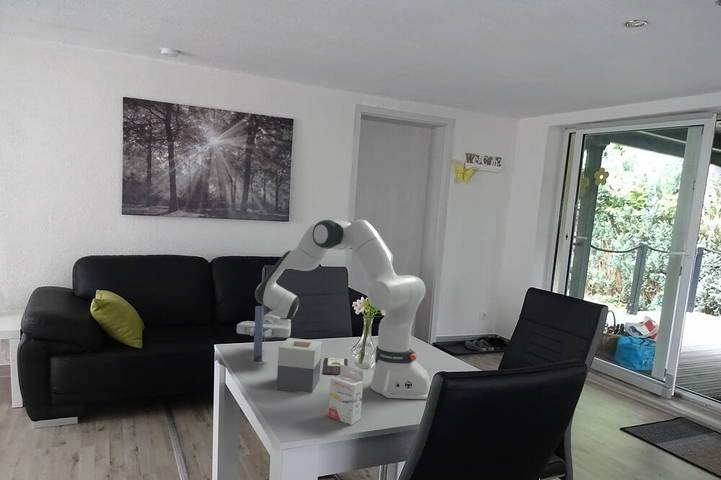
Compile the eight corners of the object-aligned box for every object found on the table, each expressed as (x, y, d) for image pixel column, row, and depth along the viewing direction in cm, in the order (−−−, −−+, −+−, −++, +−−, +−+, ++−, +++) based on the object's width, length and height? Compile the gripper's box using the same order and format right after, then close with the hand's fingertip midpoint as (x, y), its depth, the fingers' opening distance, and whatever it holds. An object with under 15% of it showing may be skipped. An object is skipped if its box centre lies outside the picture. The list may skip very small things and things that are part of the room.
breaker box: (319, 380, 171) (321, 341, 170) (312, 393, 159) (314, 351, 158) (286, 376, 172) (288, 337, 171) (276, 389, 161) (278, 347, 160)
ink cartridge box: (327, 417, 142) (330, 367, 141) (337, 411, 146) (340, 363, 145) (351, 425, 138) (355, 374, 137) (361, 419, 142) (364, 370, 141)
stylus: (263, 359, 181) (265, 306, 179) (260, 362, 178) (262, 307, 176) (254, 358, 181) (256, 305, 180) (252, 361, 178) (254, 307, 177)
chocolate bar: (323, 373, 177) (325, 357, 195) (322, 375, 177) (324, 360, 195) (347, 374, 178) (347, 359, 196) (347, 376, 178) (347, 361, 196)
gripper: (243, 315, 193) (230, 323, 179) (294, 319, 190) (285, 327, 177) (243, 331, 193) (230, 340, 179) (293, 335, 191) (284, 345, 177)
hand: (257, 334), depth 178 cm, fingers closed on stylus, 3 cm apart
